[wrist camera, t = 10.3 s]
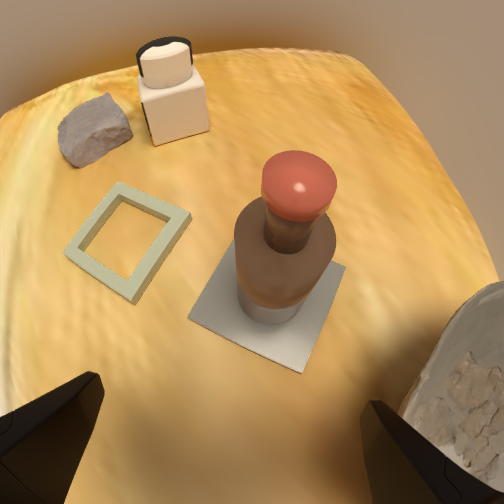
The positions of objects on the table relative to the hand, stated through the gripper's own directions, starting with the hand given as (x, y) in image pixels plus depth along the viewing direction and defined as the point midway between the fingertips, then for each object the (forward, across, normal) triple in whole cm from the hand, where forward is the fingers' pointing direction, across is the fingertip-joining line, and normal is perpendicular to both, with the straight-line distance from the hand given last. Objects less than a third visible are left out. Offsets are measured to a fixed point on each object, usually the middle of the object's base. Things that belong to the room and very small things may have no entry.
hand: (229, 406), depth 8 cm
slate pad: (+16, -2, +4) cm, 16 cm away
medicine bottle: (+31, +11, -11) cm, 35 cm away
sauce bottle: (+15, -2, +3) cm, 16 cm away
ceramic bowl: (+7, -19, +13) cm, 24 cm away
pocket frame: (+19, +12, +1) cm, 22 cm away
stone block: (+30, +23, -10) cm, 39 cm away
